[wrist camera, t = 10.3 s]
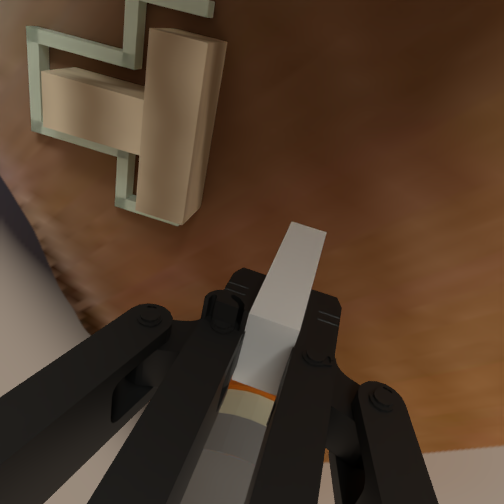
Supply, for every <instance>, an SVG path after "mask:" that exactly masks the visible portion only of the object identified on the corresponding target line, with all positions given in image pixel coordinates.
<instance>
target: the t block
mask: <svg viewBox="0 0 504 504" xmlns="http://www.w3.org/2000/svg"><path fill="white" fill-rule="evenodd" d="M226 48H227V42H226V41H222V40H219V39H215V38H211V37H207V36H203V35H199V34H195V33H191V32H187V31H184V30H180V29H176V28H149V39H148V52H147V65H146V78H145V86H142V85H138V84H134V83H131V82H127V81H124V80H120V79H116V78H113V77H109V76H106V75H102V74H98V73H95V72H91V71H88V70H84V69H81V68H77V67H72V68H63V69H54V70H46V71H41V82H42V107H43V127H46V128H49V129H53V130H56V131H59V132H63V133H66V134H69V135H73V136H76V137H79V138H82V139H86V140H89V141H92V142H96V143H99V144H102V145H106V146H109V147H112V148H116V149H119V150H122V151H126V152H129V153H132V154H136V155H139V169H138V182H137V195H136V208H135V210H136V211H139V212H142V213H145V214H148V215H152V216H155V217H158V218H161V219H164V220H167V221H170V222H174V223H177V224H180V225H183V224H184V223H185V222H186V221H187V220H188V219H189V218H190V217H191V216H192V215H193V214H194V213H195V212H196V211H197V210H198V209H199V208H200V207H201V202H202V196H203V190H204V184H205V178H206V171H207V165H208V159H209V153H210V147H211V141H212V134H213V128H214V122H215V116H216V110H217V104H218V98H219V91H220V85H221V79H222V73H223V67H224V61H225V54H226Z"/></svg>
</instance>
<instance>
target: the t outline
mask: <svg viewBox="0 0 504 504" xmlns="http://www.w3.org/2000/svg"><path fill="white" fill-rule="evenodd" d="M147 3H151V4H155V5H159V6H163V7H167V8H171V9H175V10H179V11H183V12H187V13H191V14H194V15H198V16H202V17H206V18H213V14H214V7H215V2H214V1H210V0H125V16H124V35H123V49H120V48H117V47H113V46H109V45H105V44H102V43H98V42H94V41H91V40H87V39H83V38H79V37H76V36H72V35H68V34H65V33H61V32H57V31H54V30H50V29H46V28H42V27H39V26H26V35H27V54H28V74H29V93H30V112H31V131H34V132H37V133H40V134H44V135H47V136H50V137H53V138H57V139H60V140H63V141H67V142H70V143H73V144H76V145H80V146H83V147H86V148H90V149H93V150H96V151H99V152H103V153H106V154H109V155H113V156H116V157H117V171H116V191H115V206H116V207H119V208H122V209H125V210H128V211H131V212H134V213H138V214H141V215H144V216H147V217H150V218H153V219H156V220H159V221H163V222H166V223H169V224H172V225H175V226H179V225H180V224H177V223H174V222H170V221H167V220H164V219H161V218H158V217H155V216H152V215H148V214H145V213H142V212H139V211H136V210H135V208H136V195H133V184H134V170H135V157H136V154H132V153H129V152H126V151H122V150H119V149H116V148H112V147H109V146H106V145H102V144H99V143H96V142H92V141H89V140H86V139H82V138H79V137H76V136H73V135H69V134H66V133H63V132H59V131H56V130H53V129H49V128H46V127H43V107H42V82H41V71H46V70H50V66H49V47H53V48H56V49H60V50H64V51H67V52H71V53H75V54H78V55H82V56H85V57H89V58H93V59H96V60H100V61H104V62H107V63H111V64H114V65H118V66H122V67H125V68H129V69H133V70H137V69H142V62H143V48H144V35H145V21H146V8H147Z"/></svg>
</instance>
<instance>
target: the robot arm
mask: <svg viewBox="0 0 504 504" xmlns="http://www.w3.org/2000/svg"><path fill="white" fill-rule="evenodd" d="M326 233H327V232H324V231H321V230H318V229H314V228H311V227H308V226H305V225H302V224H299V223H295V222H291V224H290V226H289V228H288V231H287V233H286V235H285V237H284V239H283V241H282V243H281V246H280V248H279V250H278V252H277V254H276V256H275V259H274V261H273V263H272V265H271V267H270V269H269V271H268V274H267V275H264V274H261V273H258V272H255V271H252V270H249V269H246V268H242V269H240V270H238V271H236V272H235V273H234V274H233V275H232V277H231V279H230V280H229V283H228V284H227V285H226V287H225V289H224V290H215V291H212V292H210V293H208V294H207V295H206V296H205V299H204V305H203V310H202V315H201V319H200V320H196V321H179V320H172V319H173V318H172V315H171V313H170V312H169V311H168V310H167V309H166V308H164V307H162V306H159V305H157V304H141V305H138V306H135V307H133V308H131V309H130V310H128V311H127V312H125V313H124V314H122V315H121V316H120V317H118V318H117V319H115V320H114V321H112V322H111V323H109V324H108V325H106V326H105V327H103V328H102V329H100V330H99V331H97V332H96V333H94V334H93V335H92V336H90V337H89V338H87V339H86V340H84V341H83V342H81V343H80V344H78V345H77V346H75V347H74V348H72V349H71V350H69V351H68V352H67V353H65V354H63V355H62V356H61V357H59V358H58V359H56V360H55V361H53V362H52V363H50V364H49V365H47V366H46V367H44V368H43V369H41V370H40V371H38V372H37V373H35V374H34V375H33V376H31V377H30V378H28V379H27V380H25V381H24V382H22V383H21V384H19V385H18V386H16V387H15V388H13V389H12V390H10V391H9V392H8V393H6V394H5V395H3V396H2V397H0V504H43V503H44V502H45V501H47V500H48V499H49V498H50V497H51V496H52V495H53V494H54V493H55V492H56V491H57V490H58V489H59V488H60V487H61V486H62V485H63V484H64V483H65V482H66V481H67V480H68V479H69V478H70V477H71V476H72V475H73V474H74V473H75V472H76V471H77V470H78V469H80V467H81V466H82V465H84V464H85V463H86V462H87V461H88V460H89V459H90V458H91V457H92V456H93V455H94V454H95V453H96V452H97V451H98V450H99V449H100V448H101V447H102V446H103V445H104V444H105V443H106V442H107V441H108V440H109V439H110V438H111V437H112V436H114V434H116V433H117V432H118V431H119V430H120V429H121V428H122V427H123V426H124V425H125V424H126V423H127V422H128V421H129V420H130V419H131V418H132V417H133V416H134V415H135V414H136V413H137V412H138V411H139V410H140V409H141V408H142V407H143V406H144V405H145V404H146V403H147V402H149V401H150V402H149V404H148V405H147V407H146V408H145V410H144V412H143V413H142V415H141V417H140V418H139V420H138V421H137V423H136V425H135V426H134V428H133V430H132V431H131V433H130V435H129V436H128V438H127V439H126V441H125V443H124V444H123V446H122V448H121V449H120V451H119V453H118V454H117V456H116V458H115V459H114V461H113V462H112V464H111V465H110V467H109V469H108V471H107V472H106V474H105V475H104V477H103V479H102V480H101V482H100V483H99V485H98V487H97V488H96V490H95V491H94V493H93V495H92V496H91V498H90V500H89V501H88V503H87V504H180V503H181V501H182V498H183V496H184V494H185V491H186V489H187V487H188V484H189V482H190V479H191V477H192V475H193V472H194V470H195V467H196V465H197V463H198V460H199V458H200V456H201V453H202V451H203V448H204V446H205V444H206V441H207V439H208V437H209V434H210V432H211V429H212V427H213V425H214V422H215V420H216V417H217V415H218V413H219V410H220V408H221V406H222V403H223V401H224V398H225V396H226V394H227V391H228V387H229V383H230V380H231V378H232V380H235V381H237V382H240V383H243V384H245V385H248V386H251V387H254V388H256V389H259V390H262V391H264V392H267V393H270V394H273V395H275V396H276V399H275V401H274V404H273V407H272V410H271V413H270V416H269V418H268V421H267V424H266V425H267V427H266V431H265V434H264V437H263V441H262V444H261V448H260V451H259V454H258V458H257V461H256V465H255V468H254V471H253V475H252V478H251V482H250V485H249V488H248V492H247V495H246V499H245V502H244V504H317V503H318V496H319V489H320V482H321V475H322V468H323V461H324V453H325V448H327V449H328V450H329V461H330V469H331V476H332V484H333V492H334V500H335V504H438V501H437V498H436V495H435V492H434V489H433V486H432V483H431V480H430V477H429V474H428V471H427V468H426V465H425V462H424V459H423V456H422V453H421V450H420V447H419V444H418V441H417V438H416V435H415V432H414V429H413V426H412V423H411V420H410V417H409V414H408V411H407V408H406V405H405V403H404V401H403V399H402V397H401V396H400V395H399V394H398V393H397V392H396V391H395V390H394V389H392V388H391V387H389V386H387V385H386V384H383V383H380V382H377V381H368V382H365V383H363V384H362V385H359V384H357V383H356V382H354V381H353V380H351V379H350V378H348V377H347V376H346V375H345V374H344V373H343V372H342V371H341V370H340V369H339V367H338V366H337V364H336V359H335V349H336V343H337V336H338V329H339V322H340V315H341V309H342V308H341V306H340V303H339V301H338V299H337V298H336V297H333V296H330V295H327V294H324V293H321V292H318V291H315V290H312V289H311V288H312V285H313V281H314V277H315V274H316V270H317V266H318V263H319V259H320V255H321V252H322V248H323V244H324V241H325V237H326ZM232 375H233V376H232Z"/></svg>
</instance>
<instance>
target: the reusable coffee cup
mask: <svg viewBox="0 0 504 504" xmlns="http://www.w3.org/2000/svg"><path fill="white" fill-rule="evenodd" d="M232 376H233V375H232ZM275 399H276V396H275V395H273V394H270V393H267V392H264V391H262V390H259V389H256V388H254V387H251V386H248V385H245V384H243V383H240V382H237V381H235V380H232V378H231V380H230V383H229V387H228V391H227V394H226V396H225V398H224V401H223V403H222V406H221V408H220V410H219V413H218V415H217V417H216V420H215V422H214V425H213V427H212V429H211V432H210V434H209V437H208V439H207V441H206V444H205V446H204V448H203V451H202V453H201V456H200V458H199V460H198V463H197V465H196V467H195V470H194V472H193V475H192V477H191V479H190V482H189V484H188V487H187V489H186V491H185V494H184V496H183V498H182V501H181V503H180V504H244V502H245V499H246V495H247V492H248V488H249V485H250V482H251V478H252V475H253V471H254V468H255V465H256V461H257V458H258V454H259V451H260V448H261V444H262V441H263V437H264V434H265V431H266V427H267V425H266V424H267V421H268V418H269V416H270V413H271V410H272V407H273V404H274V401H275Z"/></svg>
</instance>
